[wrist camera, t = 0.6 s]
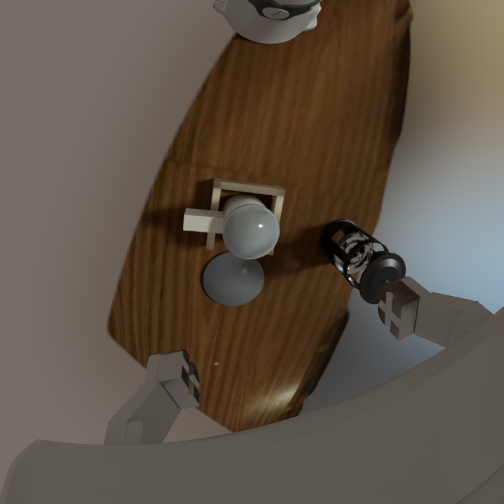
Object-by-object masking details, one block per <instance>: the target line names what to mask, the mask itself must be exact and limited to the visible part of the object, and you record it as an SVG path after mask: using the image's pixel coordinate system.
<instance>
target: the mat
mask: <svg viewBox="0 0 504 504" xmlns="http://www.w3.org/2000/svg"><path fill="white" fill-rule="evenodd" d="M263 284H264V271H263V268H262V266H261V264H260V263H259V261H258V260H257V259H243V258H240V257H237V256H235V255H234V254H232V253H231V252H230V251H228V252H224V253H221V254H219V255H217V256H216V257H214V258H213V259H212V260H211V261H210V262H209V263H208V265H207V266H206V268H205V271H204V275H203V285H204V288H205V291H206V292H207V294H208V295H209V296H210V298H212V299H213V300H214V301H216V302H217V303H219V304H222V305H226V306H238V305H242V304H245V303H247V302H249V301H251V300H253V299H254V298H255V297H256V296H257V295H258V294H259V293H260V291H261V289H262V287H263Z"/></svg>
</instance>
